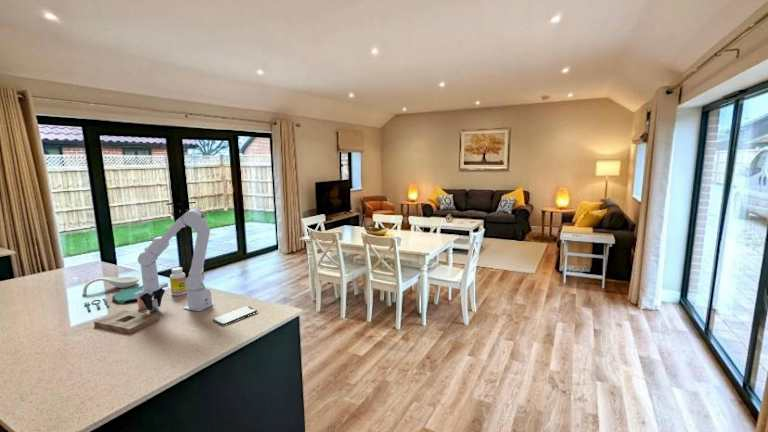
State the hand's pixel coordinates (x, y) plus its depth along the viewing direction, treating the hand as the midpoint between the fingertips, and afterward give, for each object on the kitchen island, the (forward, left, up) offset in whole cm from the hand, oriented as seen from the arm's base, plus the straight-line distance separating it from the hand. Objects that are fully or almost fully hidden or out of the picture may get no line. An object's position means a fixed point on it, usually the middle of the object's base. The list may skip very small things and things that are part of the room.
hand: (153, 307), depth 158 cm
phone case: (-38, -7, -2) cm, 39 cm away
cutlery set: (+28, -7, -2) cm, 29 cm away
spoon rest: (+47, -15, -2) cm, 50 cm away
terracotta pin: (+8, -1, -2) cm, 8 cm away
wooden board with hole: (0, +12, -2) cm, 12 cm away
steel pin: (0, 0, -2) cm, 2 cm away
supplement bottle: (+8, -20, -2) cm, 22 cm away
